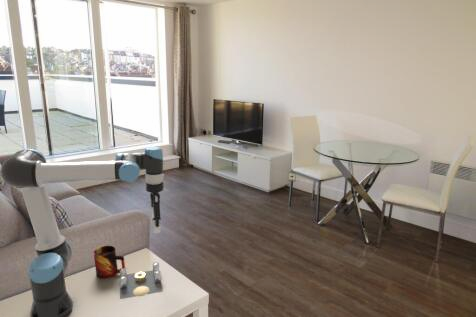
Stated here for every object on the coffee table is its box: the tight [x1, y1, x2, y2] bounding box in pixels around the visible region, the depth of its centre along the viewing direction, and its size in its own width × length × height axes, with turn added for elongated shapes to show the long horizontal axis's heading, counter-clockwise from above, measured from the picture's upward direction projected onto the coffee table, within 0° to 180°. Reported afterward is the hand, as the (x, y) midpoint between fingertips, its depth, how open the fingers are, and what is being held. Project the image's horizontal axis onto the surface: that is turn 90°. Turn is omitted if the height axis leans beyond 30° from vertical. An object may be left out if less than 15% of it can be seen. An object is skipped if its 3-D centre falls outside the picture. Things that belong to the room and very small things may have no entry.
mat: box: [119, 269, 164, 300], centre depth 157 cm, size 18×18×1 cm
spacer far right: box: [152, 262, 160, 274], centre depth 164 cm, size 3×3×5 cm
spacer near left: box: [118, 276, 127, 290], centre depth 154 cm, size 3×3×5 cm
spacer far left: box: [119, 266, 128, 278], centre depth 160 cm, size 3×3×5 cm
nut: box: [135, 271, 146, 283], centre depth 160 cm, size 5×4×2 cm
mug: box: [93, 245, 126, 280], centre depth 164 cm, size 10×14×12 cm
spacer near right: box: [154, 269, 162, 283], centre depth 158 cm, size 3×3×5 cm
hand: (155, 226), depth 156 cm, fingers open, 13 cm apart
